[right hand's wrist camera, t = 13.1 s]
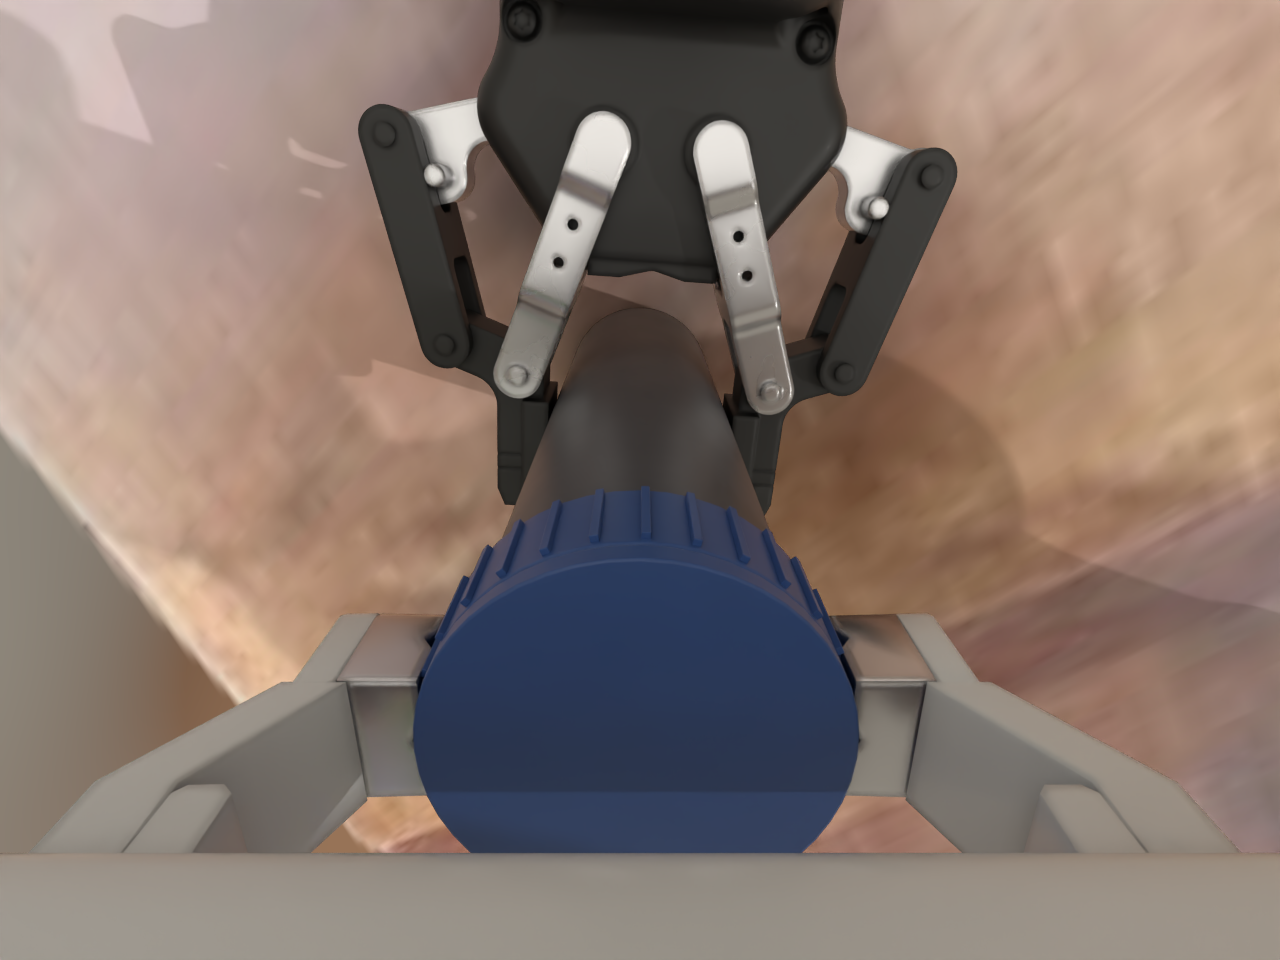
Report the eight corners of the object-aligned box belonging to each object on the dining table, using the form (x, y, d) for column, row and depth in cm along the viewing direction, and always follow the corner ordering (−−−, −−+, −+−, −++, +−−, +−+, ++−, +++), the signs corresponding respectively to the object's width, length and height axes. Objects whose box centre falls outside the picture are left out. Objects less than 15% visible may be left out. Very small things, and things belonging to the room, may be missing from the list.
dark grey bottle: (692, 446, 27) (782, 888, 10) (565, 427, 27) (433, 848, 10) (717, 318, 25) (877, 589, 8) (581, 297, 25) (453, 531, 8)
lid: (780, 820, 11) (805, 935, 10) (437, 780, 11) (399, 893, 9) (871, 514, 9) (925, 589, 8) (457, 455, 9) (413, 520, 7)
